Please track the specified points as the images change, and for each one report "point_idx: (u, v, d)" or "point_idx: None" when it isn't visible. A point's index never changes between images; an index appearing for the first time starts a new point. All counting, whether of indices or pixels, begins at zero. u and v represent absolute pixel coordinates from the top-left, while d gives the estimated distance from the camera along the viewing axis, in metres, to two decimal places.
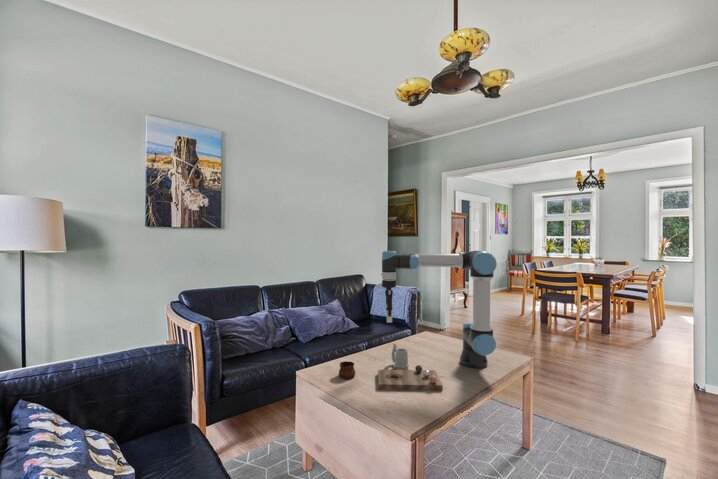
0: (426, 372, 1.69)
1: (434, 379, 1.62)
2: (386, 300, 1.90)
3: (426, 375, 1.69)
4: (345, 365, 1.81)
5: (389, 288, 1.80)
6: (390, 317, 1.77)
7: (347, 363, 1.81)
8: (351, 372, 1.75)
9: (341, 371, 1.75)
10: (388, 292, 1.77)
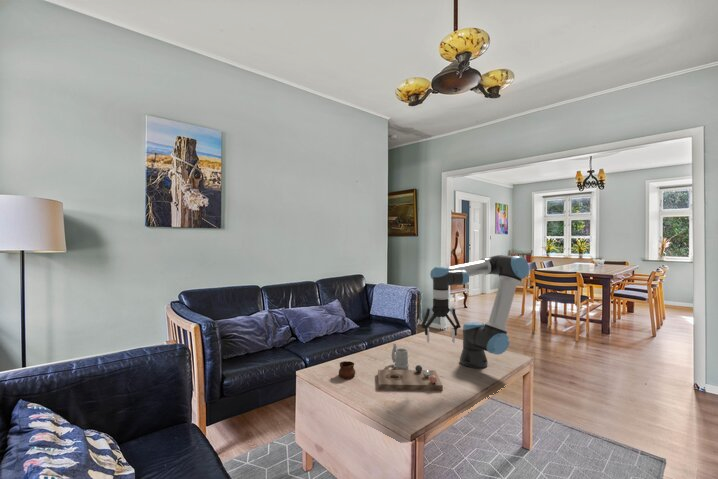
0: (426, 372, 1.69)
1: (434, 379, 1.62)
2: None
3: (426, 375, 1.69)
4: (345, 365, 1.81)
5: None
6: (427, 336, 1.70)
7: (347, 363, 1.81)
8: (351, 372, 1.75)
9: (341, 371, 1.75)
10: (426, 309, 1.71)
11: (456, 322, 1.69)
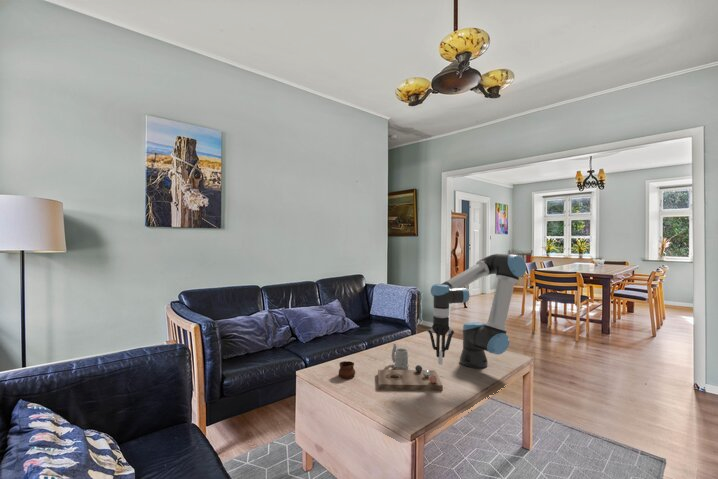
0: (426, 372, 1.69)
1: (434, 379, 1.62)
2: None
3: (426, 375, 1.69)
4: (344, 365, 1.81)
5: None
6: (439, 358, 1.69)
7: (346, 363, 1.81)
8: (351, 372, 1.75)
9: (341, 371, 1.75)
10: None
11: (447, 343, 1.69)
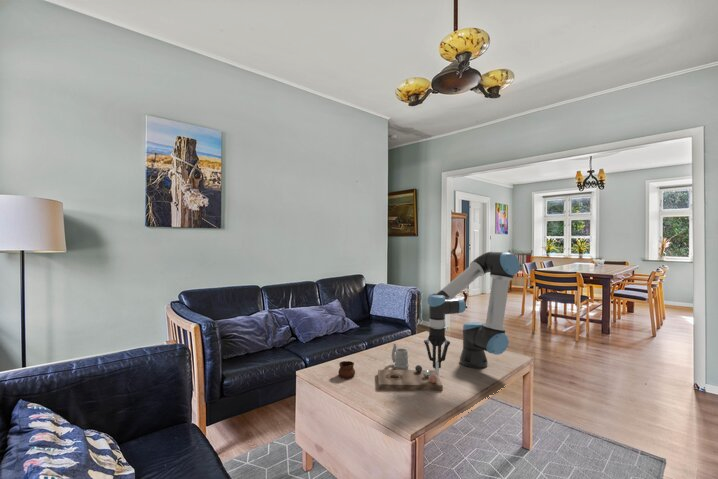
0: (426, 372, 1.69)
1: (434, 379, 1.62)
2: None
3: (426, 375, 1.69)
4: (344, 365, 1.81)
5: None
6: (435, 369, 1.69)
7: (346, 363, 1.81)
8: (351, 372, 1.75)
9: (341, 371, 1.75)
10: None
11: (443, 354, 1.69)
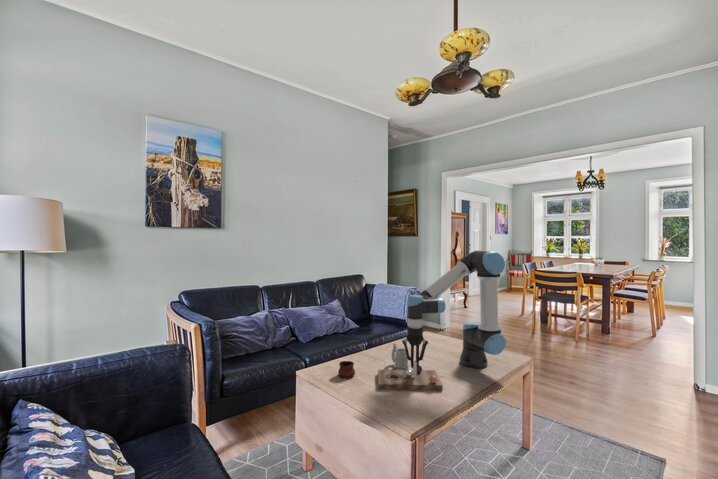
0: (411, 373, 1.69)
1: (434, 379, 1.62)
2: None
3: (408, 374, 1.69)
4: (344, 365, 1.81)
5: None
6: (413, 369, 1.70)
7: (346, 363, 1.82)
8: (351, 371, 1.75)
9: (341, 371, 1.76)
10: (402, 342, 1.71)
11: (421, 354, 1.69)
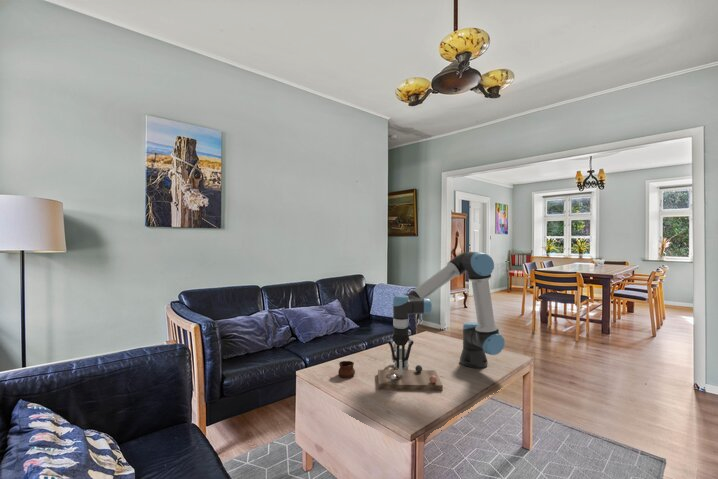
0: None
1: (434, 379, 1.62)
2: None
3: (393, 378, 1.69)
4: (344, 364, 1.81)
5: None
6: (399, 369, 1.70)
7: (346, 362, 1.82)
8: (351, 371, 1.76)
9: (341, 371, 1.76)
10: None
11: (407, 354, 1.69)
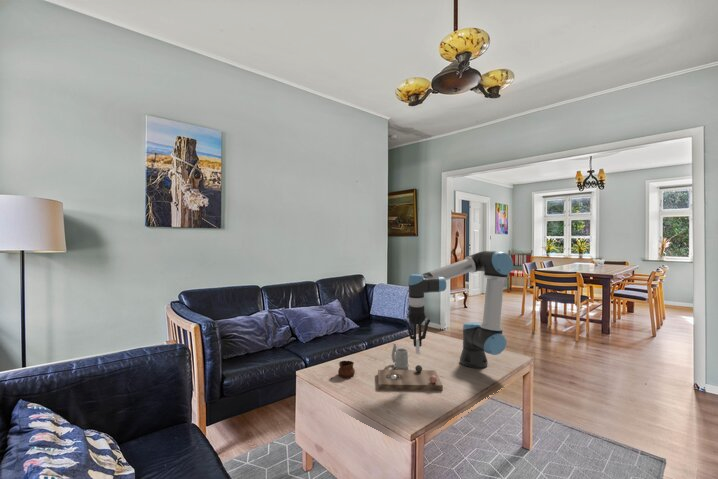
0: None
1: (434, 379, 1.62)
2: (418, 331, 1.71)
3: (394, 378, 1.69)
4: (344, 364, 1.82)
5: None
6: (416, 347, 1.70)
7: (346, 362, 1.82)
8: (351, 371, 1.76)
9: (341, 370, 1.76)
10: (404, 321, 1.71)
11: (424, 332, 1.69)
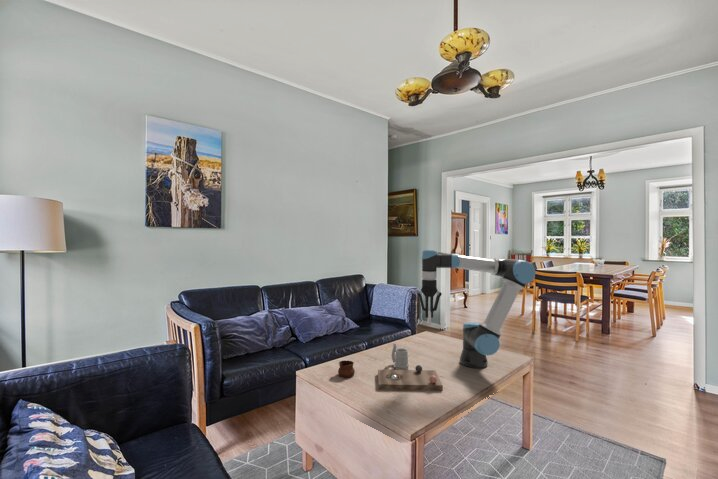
0: None
1: (434, 379, 1.62)
2: (430, 304, 1.82)
3: (394, 378, 1.69)
4: (344, 364, 1.82)
5: None
6: (427, 319, 1.80)
7: (346, 362, 1.83)
8: (350, 371, 1.76)
9: (340, 370, 1.77)
10: None
11: (435, 304, 1.80)
